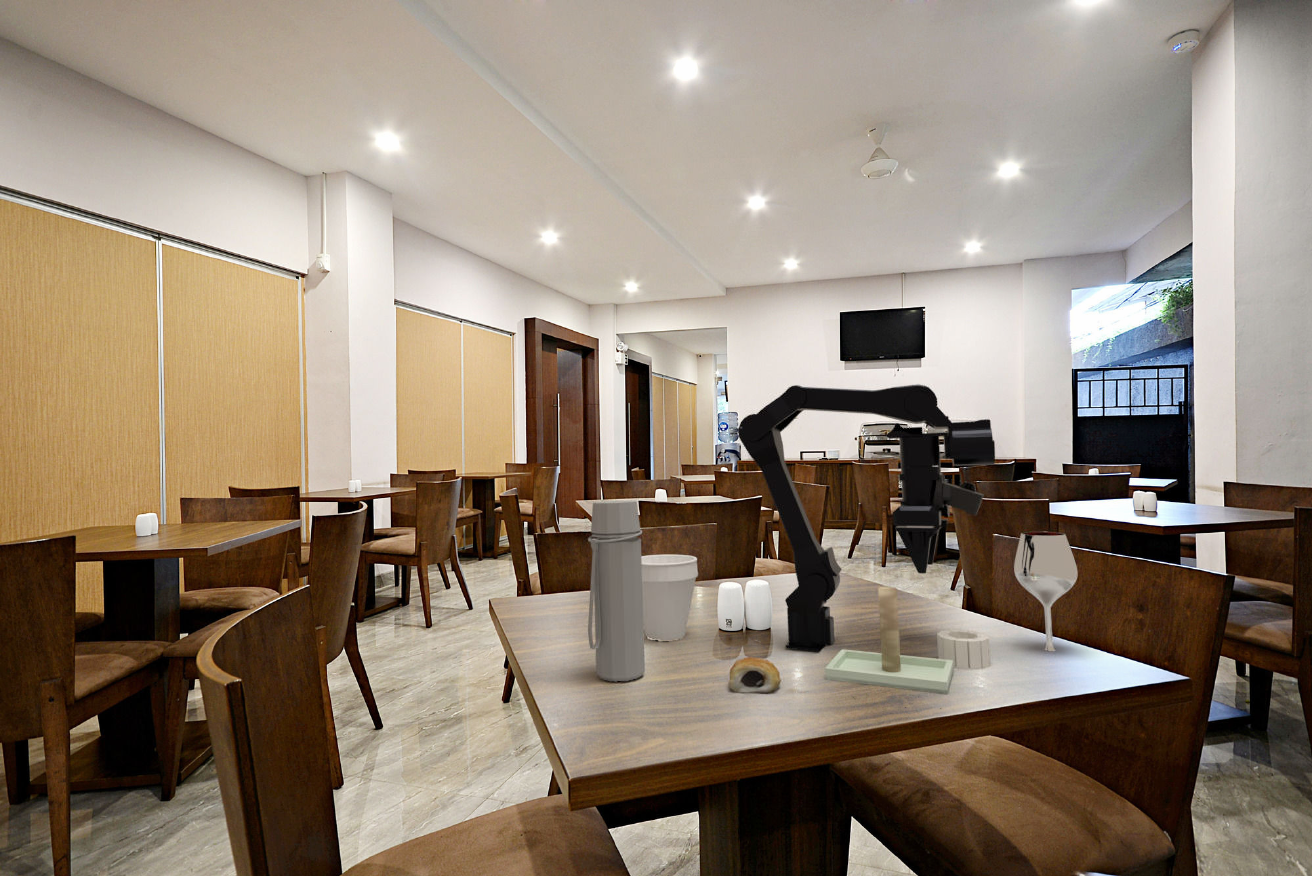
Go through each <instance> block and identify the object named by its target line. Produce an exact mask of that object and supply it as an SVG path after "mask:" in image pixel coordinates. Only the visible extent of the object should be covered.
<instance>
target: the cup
mask: <svg viewBox="0 0 1312 876" xmlns="http://www.w3.org/2000/svg"><path fill="white" fill-rule="evenodd" d="M641 560H642V592H643V623H644V635H645V637H646V636H647V637H649V638H652V639H660V640H674V639H680V638H682V637H684V636H685V637H686V633H687V632H686V631H687V626H688V622H689V616H690V610H691V606H692V599H693V595H694V589H695V584H696V578H697V577H699V571H698V562H697V561H698V558H697V557H696V556H694V555H687V554H685V555H684V554H649V555H641ZM685 637H684V638H685ZM680 640H681V639H680Z"/></svg>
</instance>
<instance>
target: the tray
mask: <svg viewBox="0 0 1312 876" xmlns="http://www.w3.org/2000/svg"><path fill="white" fill-rule="evenodd" d="M900 664H901V671H900V672H886V671H883V670H882V656H881V652H872V651H862V650H855V649H854V650H852V649H843V648H842V649H841V650H840V651H839V652H838V653H837V654H836V655H835V656H834V658H832V659H831V661H830V662H829V663H828V664H827V666H826V667H825V668H824V678H825V679H824V680H827V681H828V680H829V681H836V682H842V683H843V682H844V683H852V684H862V685H868V686H877V687H883V688H884V687H885V688H893V689H901V690H909V691H911V690H912V691H918V692H926V693H927V692H928V693H933V694H935V693H936V694H942V695H948V694H949V691H950V690H949V689H950V686H951V683H952V679H953V676H954V672H955V670H954V669H955V667H953V660H945V659H938V658H934V657H933V658H932V657H923V656H922V657H921V656H915V655H914V656H913V655H902V654H900Z"/></svg>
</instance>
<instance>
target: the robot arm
mask: <svg viewBox="0 0 1312 876" xmlns="http://www.w3.org/2000/svg"><path fill="white" fill-rule="evenodd" d="M936 395H937V394H936V393H935V392H934V391H933V390H932V389H931V388H930V387H929V386H927V385H923V384H919V383H917V384H909V385H901V386H893V387H889V388H882V389H875V390H872V389H852V388H831V387H830V388H829V387H812V386H811V387H809V386H801V385H800V384H798V385H796V384H795V385H791V386H790V387H788V388H787V389H786V390H785V391H784V392H782V394H781V395H779V396H778V397H777V398H775V399H774V400H773V401H771V402H769V403H768V404H767V405H765V406H764V407H763V408H762V409H760V410H759V411H758V412H757V413H751V414H748V415H746V416H745V417H744V418H743V419H742V420H741V422H740V423H739V425H738V428H737V434H738V438H739V441H740V442H741V443H742V445H743V447H744V449H746V452H747V453H748V455H749V456H750V458H751V459H752V460H753V461H754V463H755V464H756V465H757V466H758V468H759V469H760V471H761V472H762V475H763V478H764V481H765V483H766V485H767V487H768V490H769V493H770V495H771V498H772V500H773V503H774V505H775V508H776V510H777V512H778V515H779V518H780V520H781V523H782V525H783V528H784V530H785V532H786V535H787V538H788V541H789V543H790V544H791V548H792V552H793V562H794V571H795V576H796V579H797V587H796V588H795V589H794V590H793V591H792V592H791V593H790V594H789V595H788V596H787V597H786V598H785V604H786V607H787V608H786V611H787V613H786V614H787V632H788V633H787V637H788V638H787V640H788V642H787V643H786V644H785V646H784V647H785V648H786V649H791V650H802V651H810V652H822V650H824V648H825V647H827V646H832V645H833V644H834V643H835V621H834V619H835V618H834V617H833V616H831V611H830V610H831V608H830V606H825V604H826V603H827V602H828V601H829V600H830V599H831V598H832V597H833V595H834V594H835V593H836V591H837V590H838V587H839V585H840V583H841V576H840V573H841V571H842V567H841V566H840V565H839V564H838V563H837V560H836V557H835V553H834V549H833V547H831V546H830V547H829V548H826V549H824V547H823V546H822V545H821V544H820V542H819V541H818V539H817V538H816V536H815V532H814V530H813V527H812V526H811V522H810V520H809V518H808V516H807V513H806V510H805V508H804V506H803V504H802V501H801V498H800V496H799V493H798V491H797V489H796V486H795V484H794V482H793V481H794V480H793V479H792V477H791V474H790V472H789V469H788V466H787V464H786V459H785V452H784V451H785V450H784V444H783V438H782V435H781V432H783V431H784V430H785V429H786V428H787V427H788V426H790V424H792V422H793V421H795V419H796V418H797V417H798V416H799V415H800V414H801V413H802V412H804V411H816V412H831V413H832V412H833V413H851V414H866V415H867V414H869V415H877V416H880V417H885V418H889V419H890V420H891V419H892V420H895V421H900V422H905V423H909V424H914V425H919V424H921V425H922V424H925V425H927V426H929V427H931V428H933V429H934V430H947V432H945V431H944V432H928V433H927V432H926V433H925V432H924V433H923V426H911V427H903V426H901V425H900V423H898V422H896V423H895V424H894V426H893V428H892V429H891V430H890V431H889V432H888V433H887V434H886V438H887V439H889V440H896V439H897V440H898V439H899V453H900V454H899V456H900V474H898V477H899V478H898V479H899V480H898V481H900V482H901V495H902V500H900V501H899V502H900V505H899V506H897V508H896V509H895V510H894V511H893V512H892V523H893V524H892V525H893V526H894V527H895V526H896V527H895V531H897V533H898V535H899V537H900V539H901V542H902V543H903V545H904V547H905V549H906V551H907V553H908V555H909V557H910V559H911V561H912V563H913V565H914V567H915V570H916V572H917V573H918V574H927V571H928V569H927V568H928V565H933V563H934V557H935V553H936V547H937V541H938V536H939V531H940V529H942V528H943V526H944V525H946V524H947V522H949V519H948V518H949V517H950V516H951V515H950V514H951V513H950V507H951V508H955V509H957V510H961V511H963V512H965V513H966V514H969V515H972V516H977V515H978V512H979V511H980V510H979V509H980V508H981V504H982V501H983V498H984V495H985V494H984V493H982V492H978V491H977V489H976V488H977V487H976V484H975V483H972V482H968V481H964V482H963V483H961V485H960V486H959V485H956V484H951V483H948V482H946V480H945V479H946V478H945V477H946V476H945V474H943V472H941V471H942V470H941V469H942V468H941V449H940V448H941V446H940V438H943V451H944V459H945V460H952V465H953V467H954V466H957V467H958V466H960V467H961V466H987V465H988V466H989V465H991V466H992V465H995V462H996V445H995V444H996V443H995V442H996V441H995V440H994V437H993V430H992V426H991V425H992V424H991V420H990V419H989V418H988V419H978V420H974V421H956V422H955V421H954V422H953V421H951V419H949V415H946V414H945V413H944V412H943V411H942V410H941V409H940V408H939V407H938V398H937V396H936ZM942 517H944V518H942Z"/></svg>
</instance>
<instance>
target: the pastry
mask: <svg viewBox="0 0 1312 876" xmlns="http://www.w3.org/2000/svg"><path fill="white" fill-rule="evenodd" d="M781 682H782V680H781V676H780V672H779V669H778V668H777V667H776V666H775V664H774V663H773V662H771V661H770V660H768V659H764V658H762V657H752V656H751V657H750V656H748V657H744V658H741V659H738V660H736V661H734V663H733V664H732V666H731V667H730V670H729V682H728V685H729V687H730V689H731V690H732V691H733V692H734V693H740V694H750V693H751V694H754V693H760V694H761V693H762V694H763V693H764V694H767V693H771V692H775V691H776V690H778V689H779V687H780V684H781Z"/></svg>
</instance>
